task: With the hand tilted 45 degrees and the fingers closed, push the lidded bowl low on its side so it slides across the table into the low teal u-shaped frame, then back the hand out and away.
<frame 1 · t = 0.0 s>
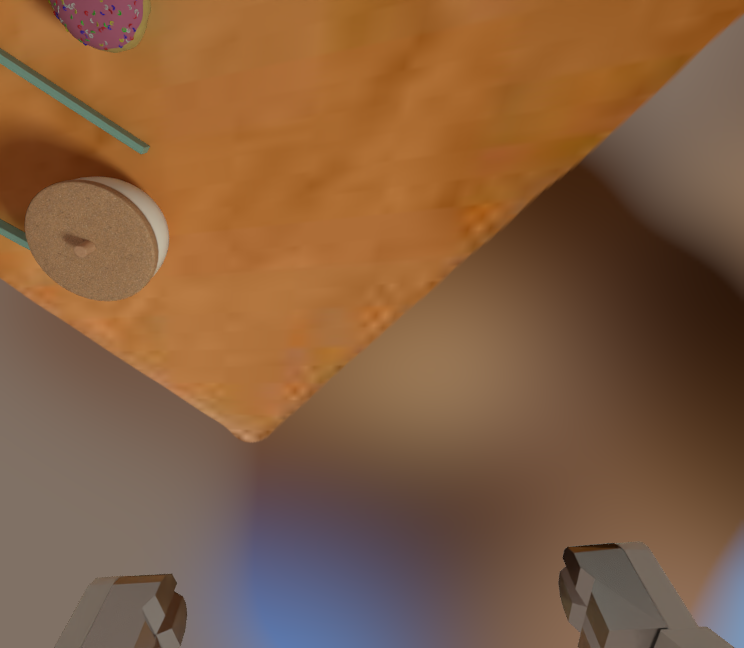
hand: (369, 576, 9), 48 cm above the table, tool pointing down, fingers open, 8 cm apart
teal u-shaped frame: (44, 170, 51), on the table
lidded bowl: (131, 221, 54), on the table
cupcake: (123, 3, 44), on the table
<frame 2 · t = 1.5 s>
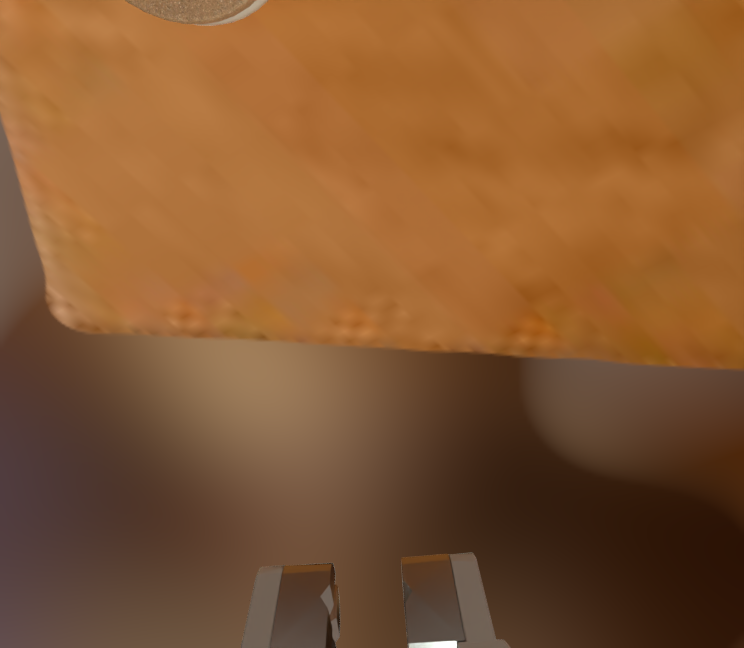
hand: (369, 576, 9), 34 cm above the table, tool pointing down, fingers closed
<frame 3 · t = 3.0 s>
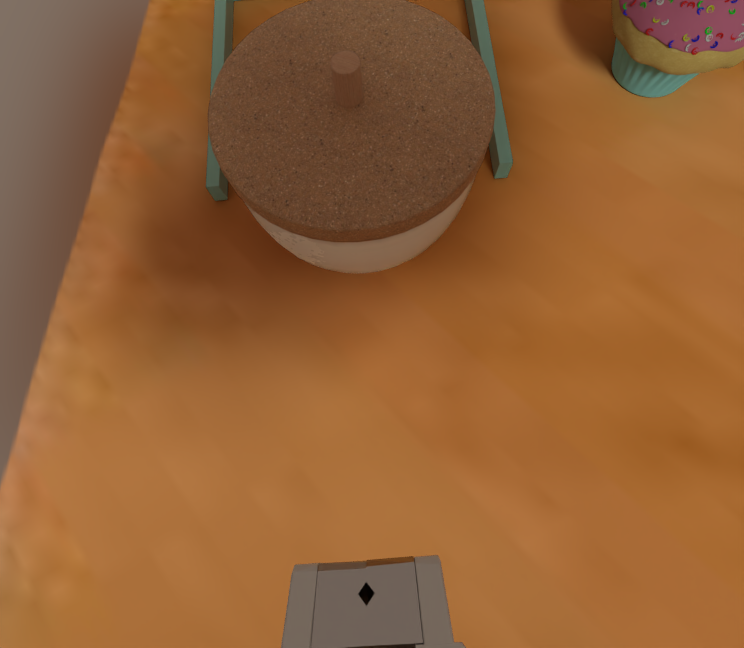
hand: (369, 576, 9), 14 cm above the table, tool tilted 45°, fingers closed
teal u-shaped frame: (353, 82, 31), on the table
lidded bowl: (362, 212, 29), on the table
cupcake: (647, 73, 31), on the table
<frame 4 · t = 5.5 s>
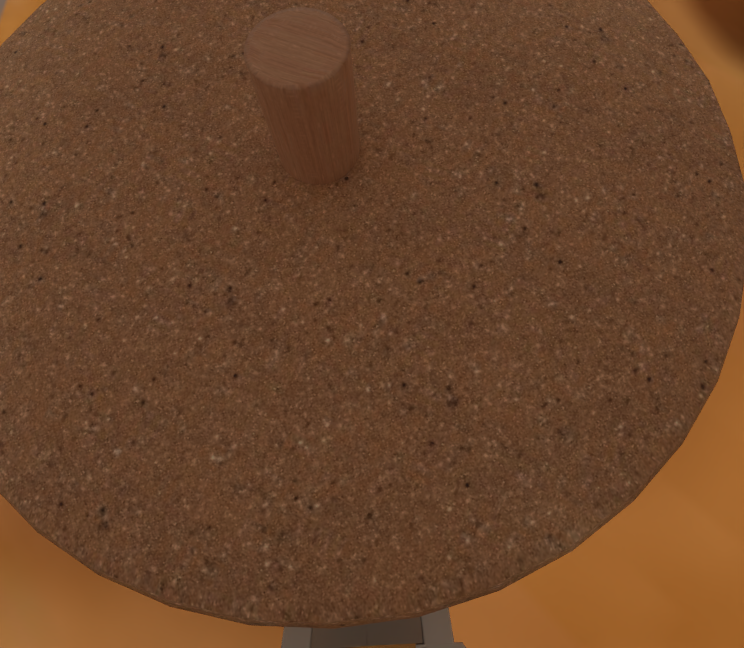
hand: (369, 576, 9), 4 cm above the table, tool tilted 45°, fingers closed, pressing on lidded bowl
lidded bowl: (359, 329, 16), on the table, touching gripper
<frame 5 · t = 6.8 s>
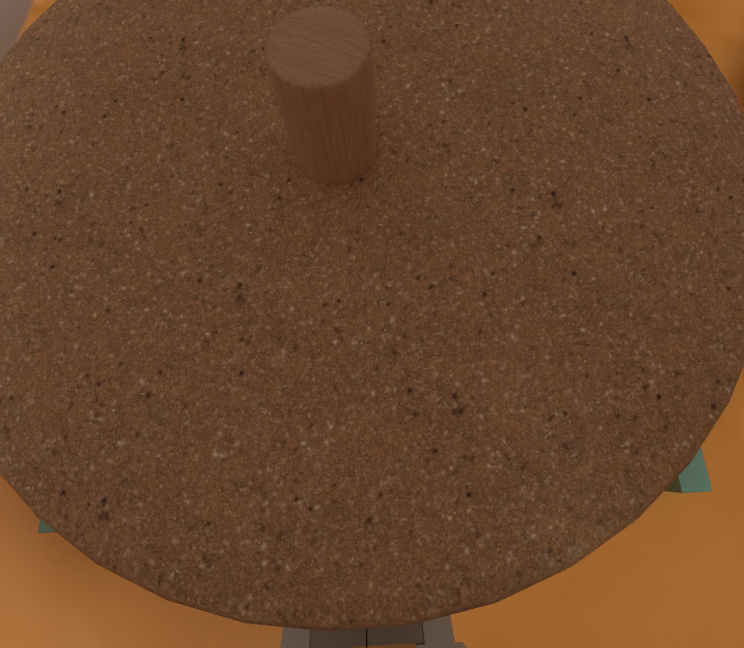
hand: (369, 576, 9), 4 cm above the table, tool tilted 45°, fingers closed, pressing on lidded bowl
teal u-shaped frame: (357, 254, 16), on the table
lidded bowl: (366, 328, 16), on the table, touching gripper
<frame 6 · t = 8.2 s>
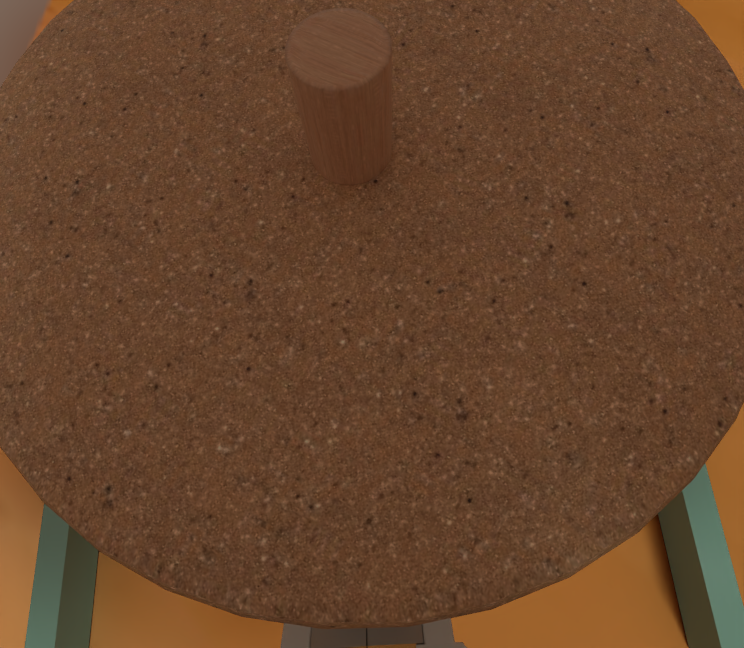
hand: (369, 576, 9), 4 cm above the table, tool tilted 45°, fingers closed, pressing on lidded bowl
teal u-shaped frame: (365, 369, 15), on the table
lidded bowl: (373, 328, 16), on the table, touching gripper
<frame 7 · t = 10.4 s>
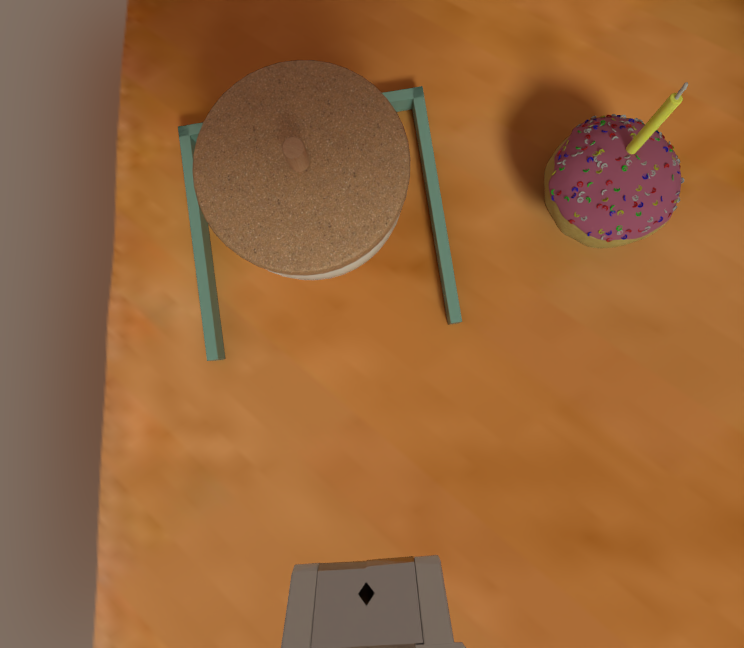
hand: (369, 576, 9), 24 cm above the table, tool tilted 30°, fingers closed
teal u-shaped frame: (320, 232, 35), on the table
lidded bowl: (322, 214, 35), on the table
cupcake: (581, 206, 34), on the table
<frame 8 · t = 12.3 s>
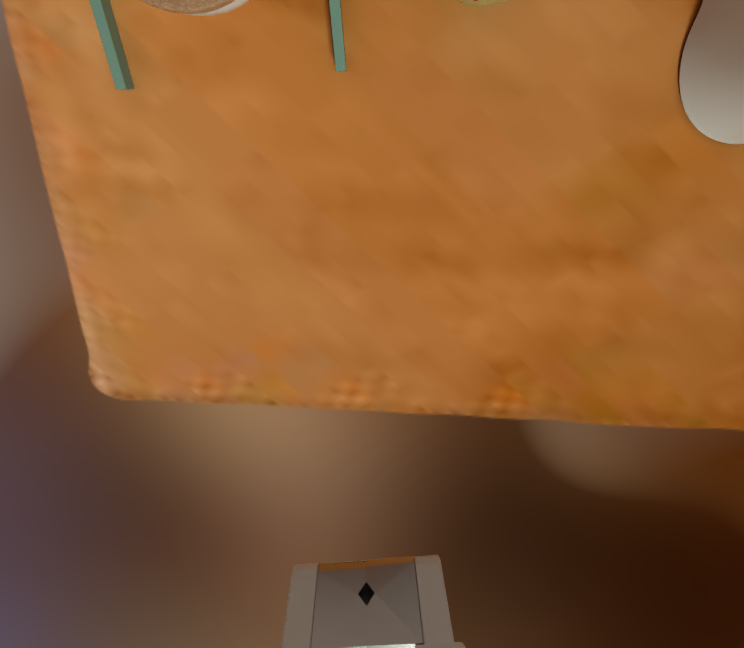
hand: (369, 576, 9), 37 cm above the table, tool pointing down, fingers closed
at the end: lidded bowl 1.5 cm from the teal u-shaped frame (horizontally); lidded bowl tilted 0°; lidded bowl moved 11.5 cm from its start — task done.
